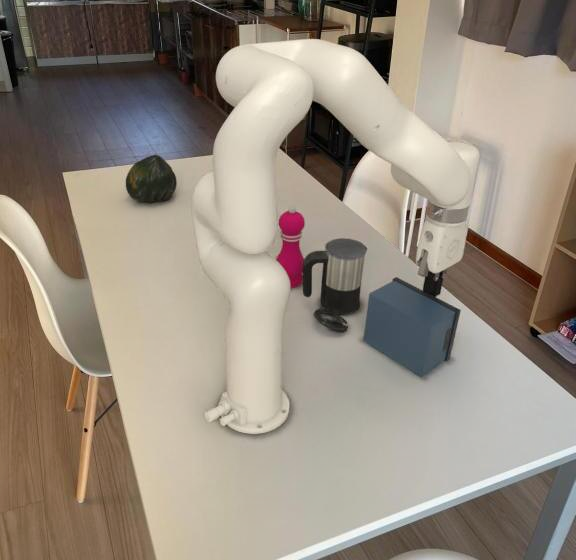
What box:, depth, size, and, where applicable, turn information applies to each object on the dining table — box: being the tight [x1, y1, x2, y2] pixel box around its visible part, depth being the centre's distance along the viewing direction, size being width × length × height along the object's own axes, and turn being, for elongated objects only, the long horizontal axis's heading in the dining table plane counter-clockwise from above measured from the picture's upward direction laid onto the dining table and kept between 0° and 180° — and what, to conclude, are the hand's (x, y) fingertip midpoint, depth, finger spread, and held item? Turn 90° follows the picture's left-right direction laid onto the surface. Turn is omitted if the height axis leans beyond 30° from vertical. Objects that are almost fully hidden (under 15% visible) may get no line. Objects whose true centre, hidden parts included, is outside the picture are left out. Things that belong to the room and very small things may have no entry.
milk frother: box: [302, 237, 368, 333], centre depth 126 cm, size 14×16×15 cm
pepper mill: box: [275, 205, 306, 289], centre depth 136 cm, size 7×7×20 cm
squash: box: [125, 154, 178, 203], centre depth 177 cm, size 14×15×15 cm
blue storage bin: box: [363, 276, 462, 378], centre depth 116 cm, size 9×16×12 cm, turn 42°
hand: (431, 292), depth 117 cm, fingers closed
